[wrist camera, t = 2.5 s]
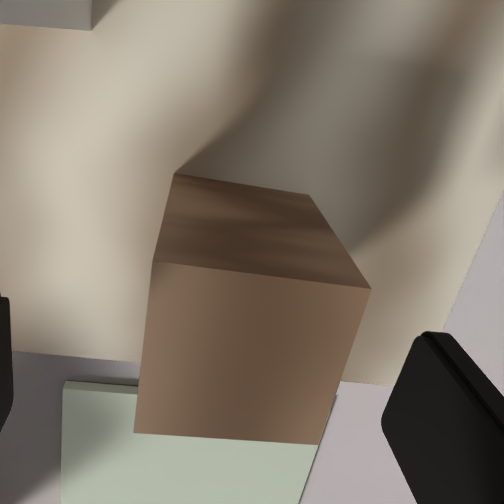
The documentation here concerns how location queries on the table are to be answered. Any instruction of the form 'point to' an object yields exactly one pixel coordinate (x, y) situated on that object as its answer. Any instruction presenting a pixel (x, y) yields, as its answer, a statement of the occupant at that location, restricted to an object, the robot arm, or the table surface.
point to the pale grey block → (47, 13)
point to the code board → (247, 153)
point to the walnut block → (245, 316)
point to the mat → (165, 458)
